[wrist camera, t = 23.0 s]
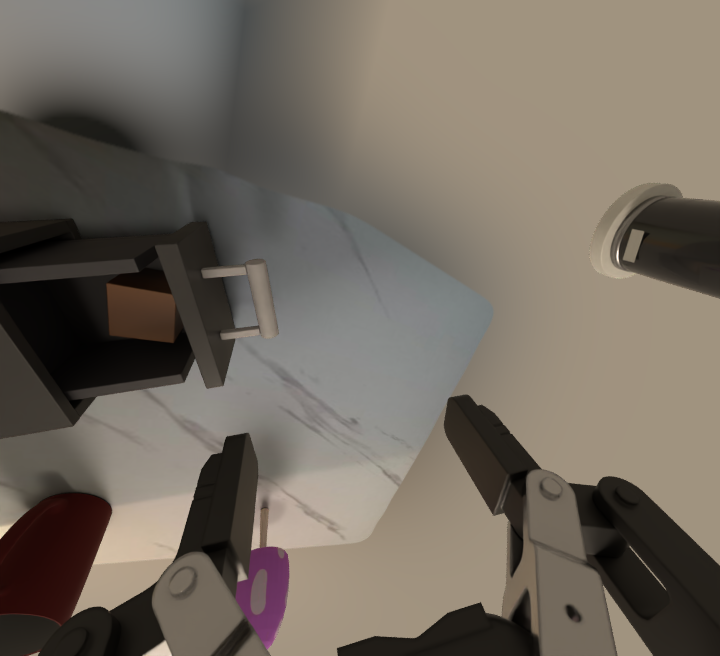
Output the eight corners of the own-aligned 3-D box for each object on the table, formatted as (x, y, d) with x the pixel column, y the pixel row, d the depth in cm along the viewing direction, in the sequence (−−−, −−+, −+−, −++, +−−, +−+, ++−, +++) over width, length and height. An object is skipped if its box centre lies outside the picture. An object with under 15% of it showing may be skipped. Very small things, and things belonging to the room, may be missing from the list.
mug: (4, 473, 30) (-121, 612, 21) (107, 466, 33) (38, 586, 23) (38, 538, 35) (-49, 672, 26) (125, 528, 38) (74, 646, 29)
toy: (274, 526, 46) (272, 665, 33) (232, 521, 43) (212, 672, 30) (295, 499, 44) (302, 636, 31) (253, 492, 41) (241, 641, 28)
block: (132, 264, 22) (105, 282, 19) (191, 276, 24) (176, 294, 20) (133, 311, 24) (108, 335, 20) (188, 319, 25) (173, 343, 22)
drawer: (263, 217, 24) (256, 237, 17) (282, 328, 29) (283, 376, 22) (16, 232, 20) (-110, 263, 14) (87, 353, 26) (20, 419, 19)
